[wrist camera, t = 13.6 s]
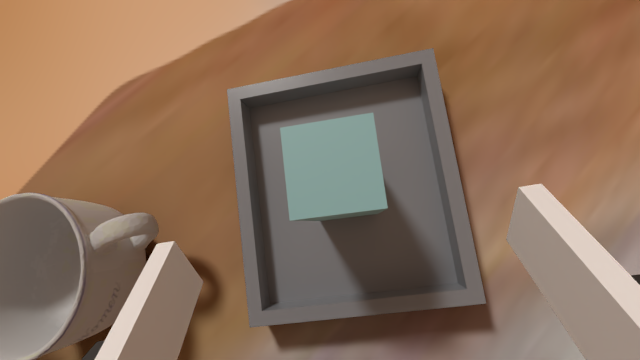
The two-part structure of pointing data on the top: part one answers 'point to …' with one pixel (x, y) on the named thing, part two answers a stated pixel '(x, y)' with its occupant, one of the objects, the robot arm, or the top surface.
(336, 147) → the teal block
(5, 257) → the teacup
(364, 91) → the tray
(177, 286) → the robot arm
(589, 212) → the top surface
